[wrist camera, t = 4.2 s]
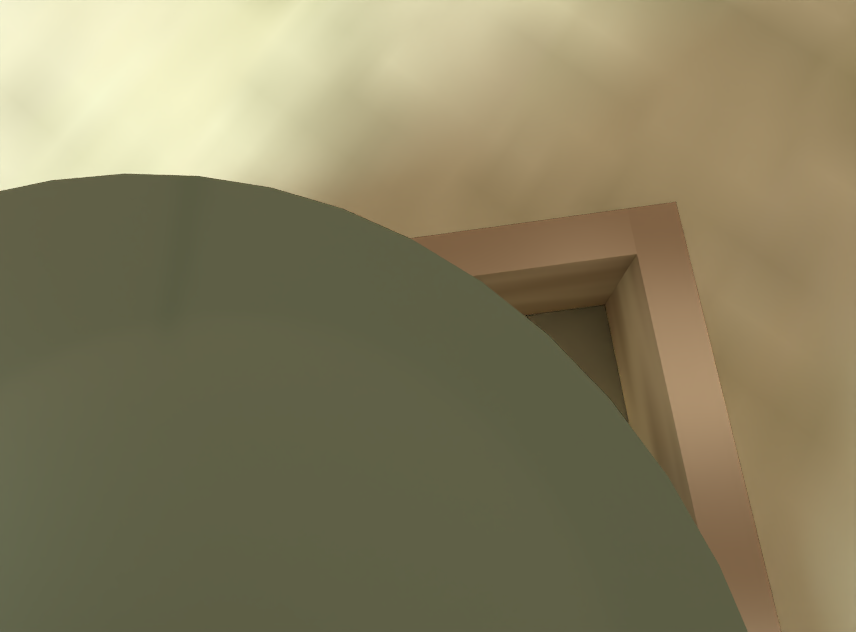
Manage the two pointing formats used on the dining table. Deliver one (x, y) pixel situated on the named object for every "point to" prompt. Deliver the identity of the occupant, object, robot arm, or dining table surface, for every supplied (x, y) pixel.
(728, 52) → the dining table surface
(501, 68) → the dining table surface
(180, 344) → the flower pot
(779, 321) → the dining table surface
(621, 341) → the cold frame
